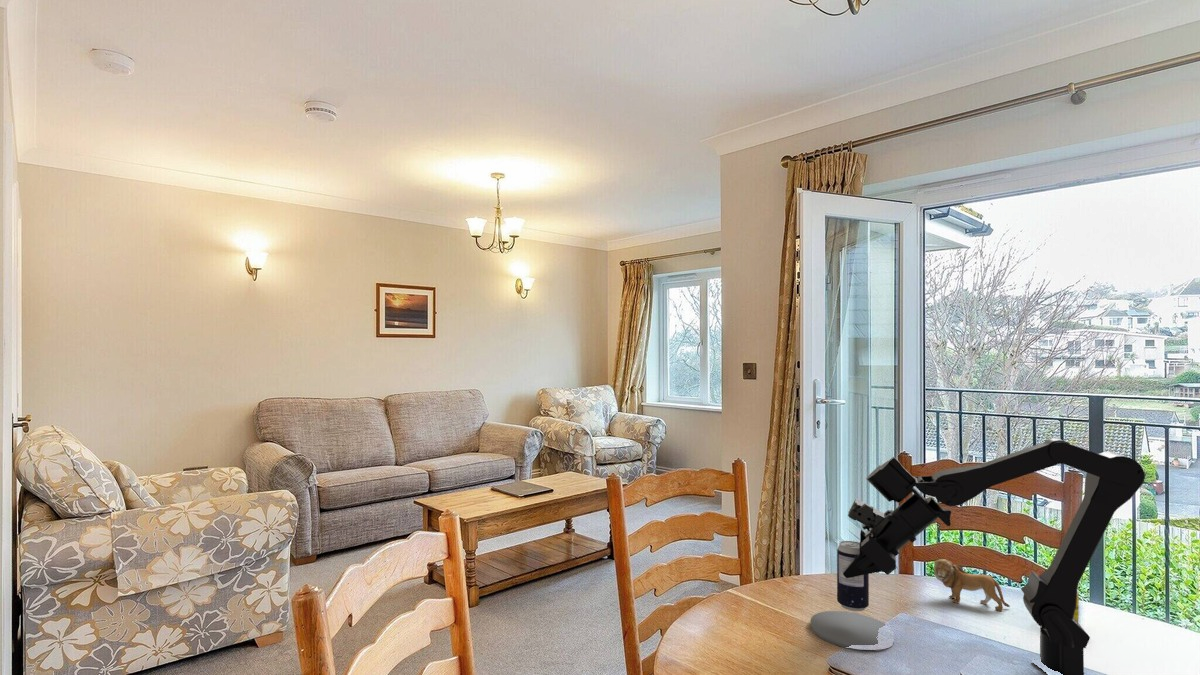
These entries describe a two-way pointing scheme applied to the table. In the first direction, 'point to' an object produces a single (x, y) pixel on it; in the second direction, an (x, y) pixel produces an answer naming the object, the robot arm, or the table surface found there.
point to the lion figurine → (967, 582)
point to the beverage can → (851, 579)
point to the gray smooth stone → (846, 628)
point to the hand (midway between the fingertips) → (845, 571)
